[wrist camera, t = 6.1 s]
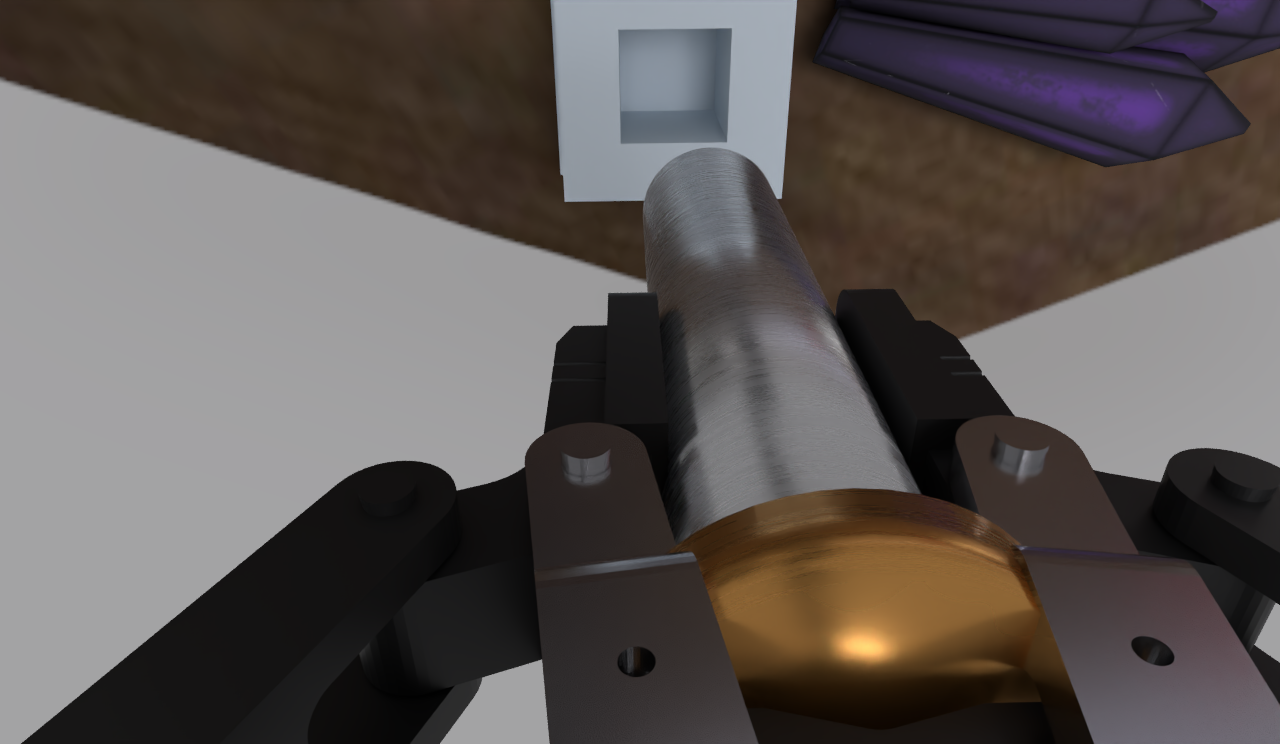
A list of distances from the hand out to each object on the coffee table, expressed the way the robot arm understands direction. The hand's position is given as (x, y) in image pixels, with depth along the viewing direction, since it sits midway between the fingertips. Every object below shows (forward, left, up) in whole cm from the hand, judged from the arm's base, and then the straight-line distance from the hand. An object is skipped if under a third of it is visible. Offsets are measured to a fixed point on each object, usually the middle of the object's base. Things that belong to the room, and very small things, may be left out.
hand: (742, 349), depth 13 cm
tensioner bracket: (-3, 0, -25) cm, 25 cm away
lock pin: (0, 0, -6) cm, 6 cm away
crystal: (-2, +16, -25) cm, 30 cm away
